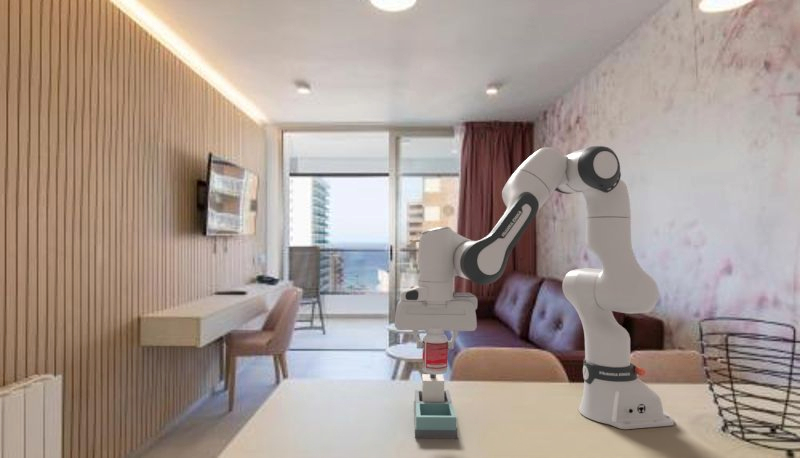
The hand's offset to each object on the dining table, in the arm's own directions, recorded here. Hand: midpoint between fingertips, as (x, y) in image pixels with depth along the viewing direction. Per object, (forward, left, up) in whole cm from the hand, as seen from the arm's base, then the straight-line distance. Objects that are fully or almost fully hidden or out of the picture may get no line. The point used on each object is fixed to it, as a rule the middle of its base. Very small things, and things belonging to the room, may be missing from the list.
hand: (435, 348), depth 110 cm
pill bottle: (0, 0, -6) cm, 6 cm away
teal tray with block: (0, -5, -20) cm, 21 cm away
